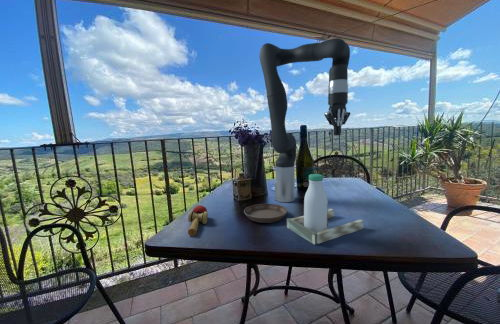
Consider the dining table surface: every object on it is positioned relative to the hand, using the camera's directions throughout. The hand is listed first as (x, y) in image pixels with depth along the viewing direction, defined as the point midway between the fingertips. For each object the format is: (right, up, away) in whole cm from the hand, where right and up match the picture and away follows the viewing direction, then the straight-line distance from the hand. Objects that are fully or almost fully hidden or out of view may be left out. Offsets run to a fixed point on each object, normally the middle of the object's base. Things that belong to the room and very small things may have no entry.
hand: (337, 135), depth 95 cm
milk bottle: (-14, -35, -17) cm, 42 cm away
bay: (-10, -35, -15) cm, 39 cm away
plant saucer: (-30, -34, -1) cm, 46 cm away
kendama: (-57, -36, -8) cm, 68 cm away
